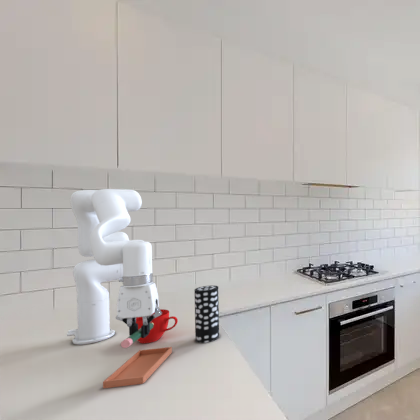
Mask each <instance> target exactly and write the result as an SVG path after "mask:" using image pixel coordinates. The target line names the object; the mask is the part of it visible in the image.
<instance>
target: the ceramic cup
mask: <svg viewBox="0 0 420 420" xmlns="http://www.w3.org/2000/svg"><path fill="white" fill-rule="evenodd" d="M159 309H160V310H161V312H162V314H161V315H160V316H158V317H156V318H154V319H153V320H152V321H151V322H150V323H154V325H153V328H152V329H151V330H150V333H149V334H148V335H147V336H146V337H145V338H139V339H138V340H137V341H136V342H139V343H140V344H150V343H151V344H152V343H155V342H157V341H158V340H160V339H161V337H163V335H164V334H165V333H166V332H168V331H170V330H172V329H174V328H175V327H176V326H177V324H178V322H179V320H178V317H176V316H172V315H171V316H170V311H169V310H168V309H165V308H163V309H162V308H159ZM153 314H155V312H154V313H153ZM153 314H152V315H153ZM152 315H151V316H152ZM170 320H174V323H173V325H172V326H170V327H169V321H170ZM136 323H137V324H138V330H139V329H140V328H141V326H142V325H143V317H136Z"/></svg>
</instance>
